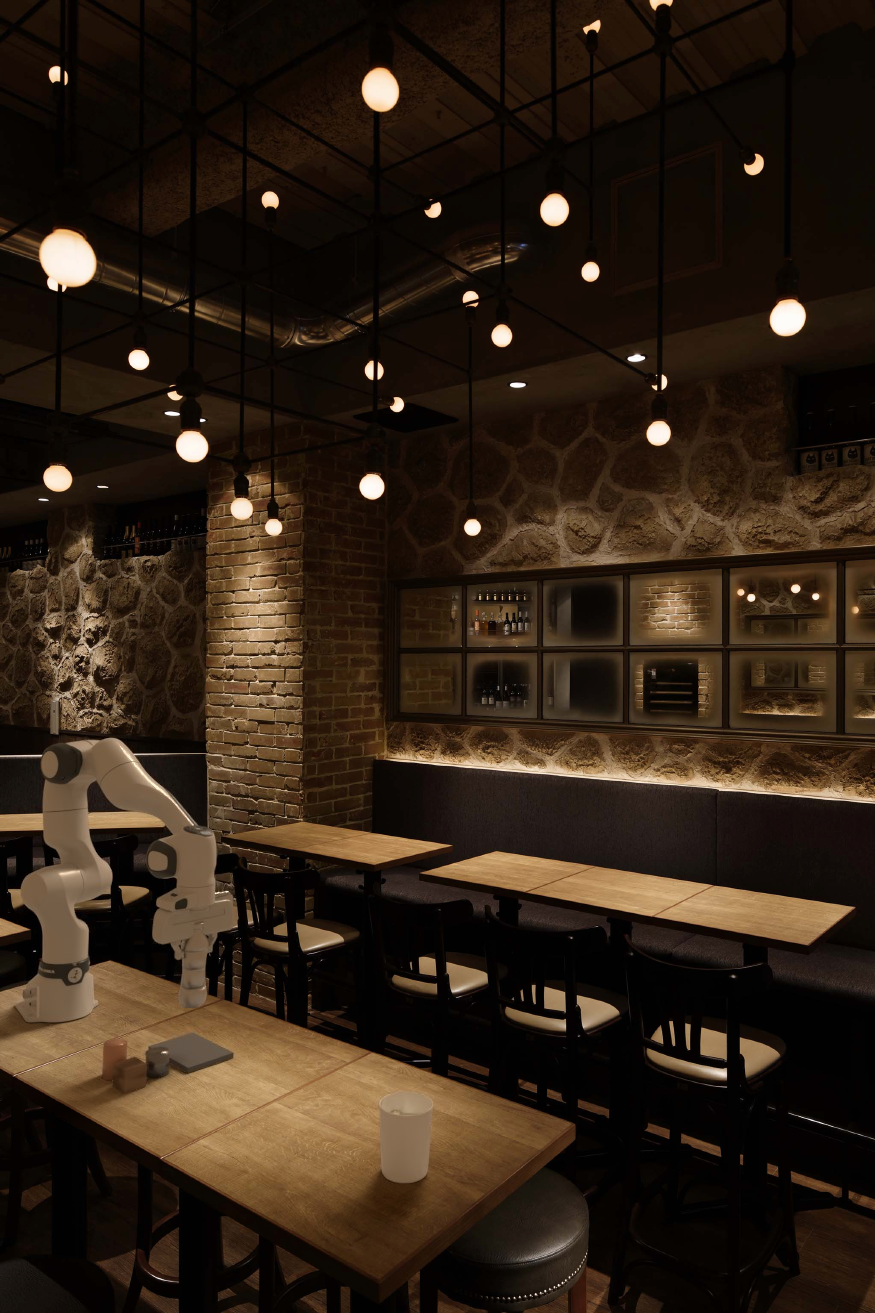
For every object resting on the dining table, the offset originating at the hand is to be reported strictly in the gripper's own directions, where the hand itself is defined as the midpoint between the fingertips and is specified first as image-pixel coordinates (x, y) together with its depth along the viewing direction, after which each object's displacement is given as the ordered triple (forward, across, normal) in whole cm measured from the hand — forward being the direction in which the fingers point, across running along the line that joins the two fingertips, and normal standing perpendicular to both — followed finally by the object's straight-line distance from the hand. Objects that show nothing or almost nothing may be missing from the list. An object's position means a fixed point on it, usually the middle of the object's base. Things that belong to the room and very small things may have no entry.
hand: (193, 955), depth 209 cm
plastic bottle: (+12, 0, 0) cm, 12 cm away
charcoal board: (+23, 0, 0) cm, 23 cm away
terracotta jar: (+23, +18, -2) cm, 29 cm away
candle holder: (+23, +1, +71) cm, 75 cm away
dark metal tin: (+23, +11, +4) cm, 26 cm away
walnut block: (+23, +18, +6) cm, 30 cm away
